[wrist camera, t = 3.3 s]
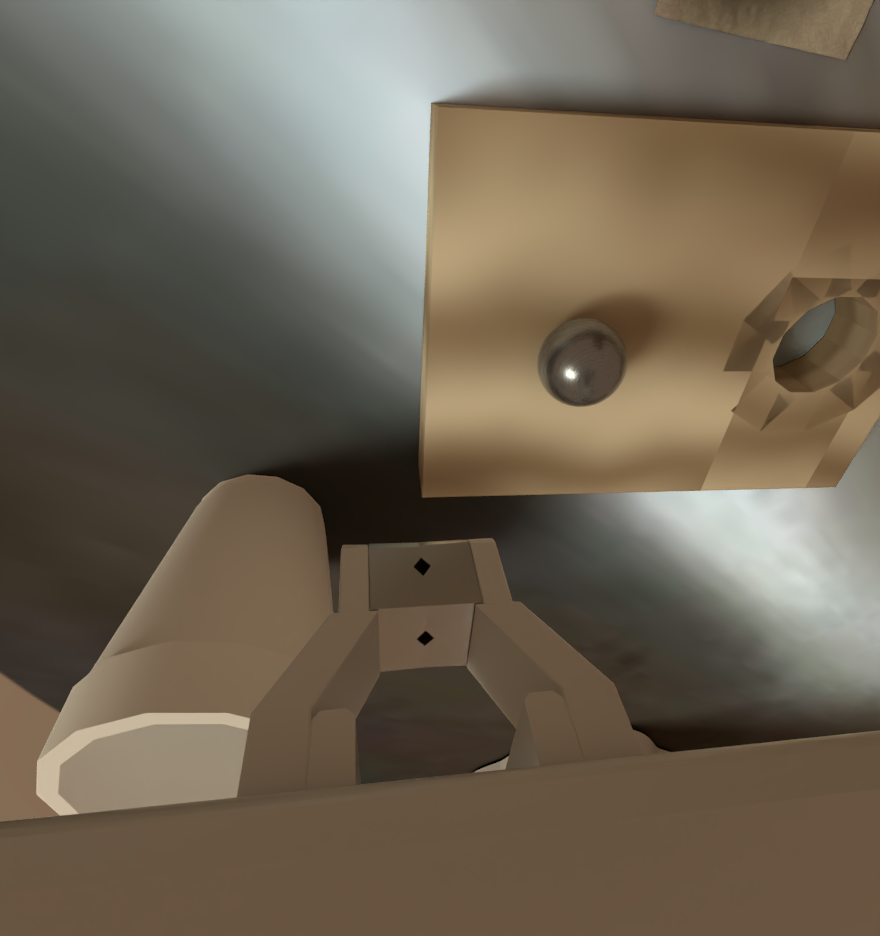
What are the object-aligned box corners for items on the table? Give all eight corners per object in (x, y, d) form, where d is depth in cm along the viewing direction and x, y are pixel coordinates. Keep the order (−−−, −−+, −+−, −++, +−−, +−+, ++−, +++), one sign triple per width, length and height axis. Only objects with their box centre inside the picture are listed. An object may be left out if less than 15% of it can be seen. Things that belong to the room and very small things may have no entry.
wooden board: (803, 458, 29) (835, 487, 27) (418, 465, 27) (422, 497, 25) (981, 135, 20) (1047, 142, 18) (431, 102, 18) (438, 106, 16)
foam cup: (173, 579, 30) (67, 853, 19) (153, 439, 24) (-7, 712, 14) (347, 587, 32) (336, 841, 21) (363, 458, 26) (359, 713, 16)
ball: (598, 382, 22) (628, 422, 20) (523, 382, 22) (543, 423, 19) (617, 306, 20) (653, 339, 18) (535, 304, 20) (559, 338, 17)
